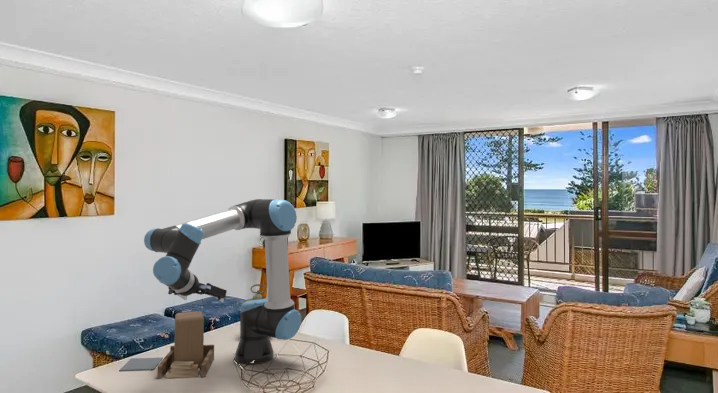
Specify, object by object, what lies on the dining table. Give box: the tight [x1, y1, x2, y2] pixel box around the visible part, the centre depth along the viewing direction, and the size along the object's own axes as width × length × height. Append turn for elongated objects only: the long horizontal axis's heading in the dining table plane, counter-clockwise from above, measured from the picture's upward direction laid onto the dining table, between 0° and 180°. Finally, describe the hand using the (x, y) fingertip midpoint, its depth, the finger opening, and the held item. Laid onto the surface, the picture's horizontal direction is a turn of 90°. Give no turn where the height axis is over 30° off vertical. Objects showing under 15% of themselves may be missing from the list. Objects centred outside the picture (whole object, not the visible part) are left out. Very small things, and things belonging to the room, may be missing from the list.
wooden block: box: [173, 310, 205, 370], centre depth 171 cm, size 10×10×20 cm
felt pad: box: [119, 357, 164, 372], centre depth 172 cm, size 12×12×1 cm
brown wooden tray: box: [156, 344, 215, 380], centre depth 169 cm, size 18×16×6 cm
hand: (204, 297), depth 163 cm, fingers open, 13 cm apart
